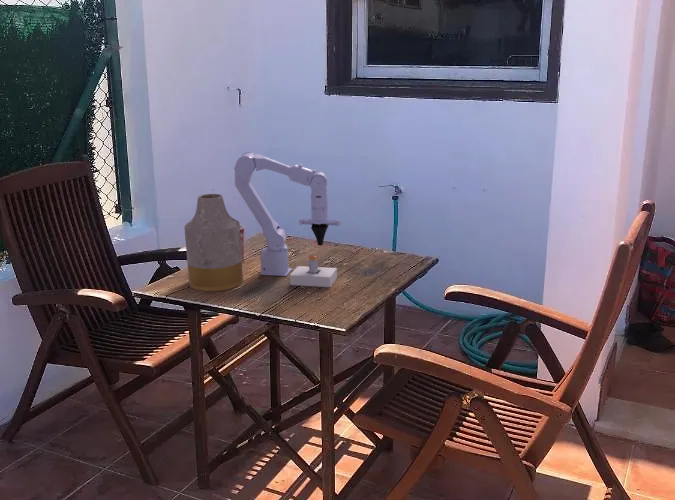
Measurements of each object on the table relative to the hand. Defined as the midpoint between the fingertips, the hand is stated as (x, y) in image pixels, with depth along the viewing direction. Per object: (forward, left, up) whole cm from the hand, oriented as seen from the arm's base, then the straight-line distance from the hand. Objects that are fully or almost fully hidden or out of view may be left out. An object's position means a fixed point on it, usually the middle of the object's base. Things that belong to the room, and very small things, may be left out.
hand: (320, 244), depth 256 cm
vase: (-33, -17, -10) cm, 39 cm away
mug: (-37, +7, -10) cm, 39 cm away
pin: (0, -10, -10) cm, 14 cm away
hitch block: (0, -10, -10) cm, 14 cm away
